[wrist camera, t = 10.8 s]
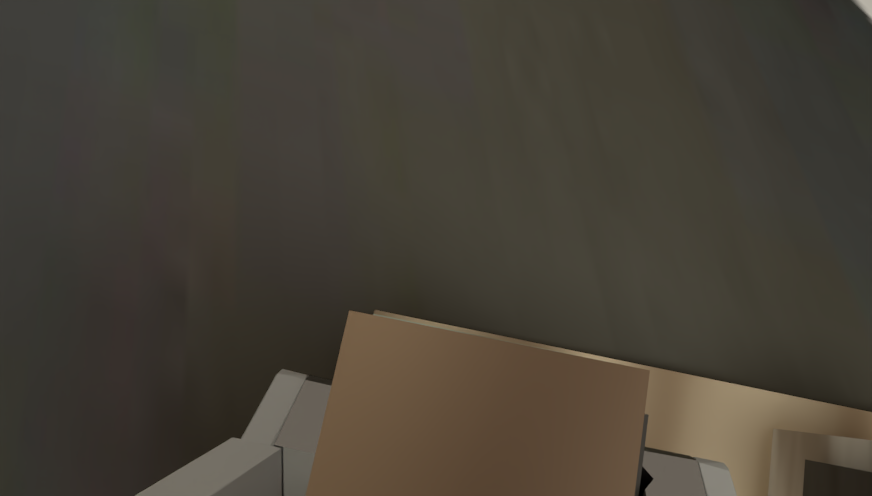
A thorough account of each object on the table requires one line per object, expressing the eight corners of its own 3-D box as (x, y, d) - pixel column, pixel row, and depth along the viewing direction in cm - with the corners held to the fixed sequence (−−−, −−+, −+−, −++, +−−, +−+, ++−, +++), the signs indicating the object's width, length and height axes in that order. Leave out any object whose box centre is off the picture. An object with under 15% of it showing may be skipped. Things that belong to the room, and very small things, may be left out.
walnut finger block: (380, 504, 16) (272, 634, 7) (412, 353, 17) (349, 310, 8) (554, 544, 16) (660, 735, 7) (578, 387, 16) (697, 380, 8)
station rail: (337, 493, 27) (271, 557, 16) (378, 313, 28) (341, 271, 18) (900, 619, 25) (1210, 776, 15) (906, 422, 27) (1189, 443, 17)
